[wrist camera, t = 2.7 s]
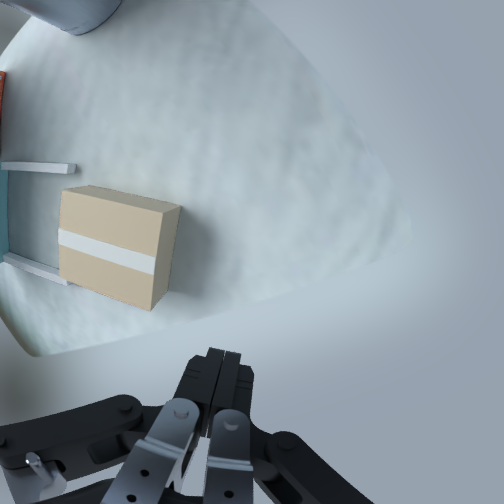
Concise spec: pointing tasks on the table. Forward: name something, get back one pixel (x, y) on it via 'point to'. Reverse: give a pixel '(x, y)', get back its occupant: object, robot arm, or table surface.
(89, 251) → the kraft carton
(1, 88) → the cracker box
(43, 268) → the display stand
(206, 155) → the table surface
